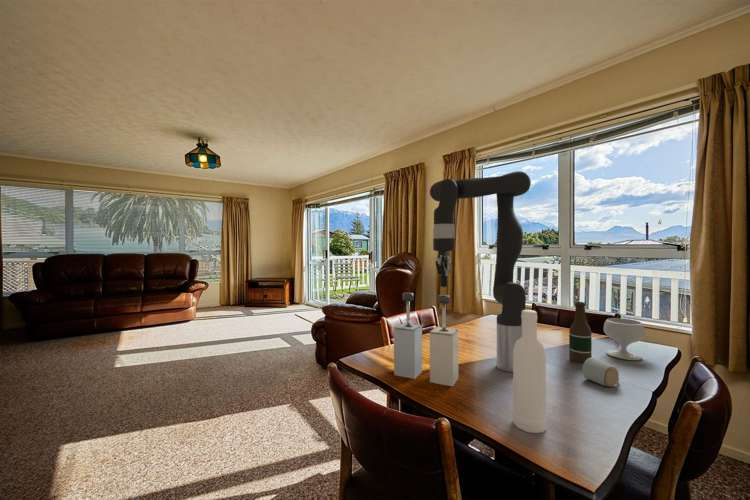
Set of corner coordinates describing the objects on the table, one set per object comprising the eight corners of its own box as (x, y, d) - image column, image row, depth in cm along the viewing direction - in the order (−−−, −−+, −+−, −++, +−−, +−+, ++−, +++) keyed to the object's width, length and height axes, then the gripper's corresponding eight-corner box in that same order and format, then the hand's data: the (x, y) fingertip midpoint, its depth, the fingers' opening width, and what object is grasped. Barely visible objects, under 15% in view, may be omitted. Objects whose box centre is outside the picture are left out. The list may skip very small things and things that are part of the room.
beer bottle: (571, 363, 128) (571, 303, 128) (567, 356, 135) (567, 300, 135) (594, 365, 125) (594, 304, 125) (589, 359, 132) (589, 301, 132)
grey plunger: (418, 332, 120) (418, 292, 119) (412, 336, 114) (412, 295, 114) (403, 330, 122) (403, 291, 122) (397, 334, 117) (397, 293, 117)
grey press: (422, 371, 120) (422, 324, 120) (414, 379, 113) (414, 329, 113) (402, 367, 124) (402, 322, 124) (394, 375, 117) (393, 327, 117)
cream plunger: (454, 336, 113) (454, 295, 113) (450, 341, 108) (450, 297, 108) (438, 334, 116) (438, 294, 116) (433, 338, 111) (433, 296, 111)
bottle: (552, 427, 82) (552, 311, 82) (535, 437, 78) (535, 315, 78) (524, 414, 89) (524, 307, 89) (506, 422, 85) (506, 310, 85)
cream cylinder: (605, 390, 104) (606, 366, 104) (581, 380, 111) (581, 358, 111) (626, 385, 108) (626, 362, 108) (601, 376, 115) (601, 355, 115)
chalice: (599, 349, 144) (599, 316, 144) (637, 352, 139) (637, 318, 139) (609, 359, 131) (609, 323, 131) (651, 363, 126) (651, 326, 126)
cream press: (458, 377, 114) (458, 329, 114) (452, 386, 107) (452, 334, 107) (436, 373, 118) (436, 326, 117) (429, 382, 111) (429, 331, 110)
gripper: (449, 236, 104) (450, 289, 104) (458, 237, 116) (459, 285, 116) (427, 237, 108) (427, 288, 108) (438, 238, 119) (439, 284, 120)
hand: (444, 286), depth 112 cm, fingers closed
